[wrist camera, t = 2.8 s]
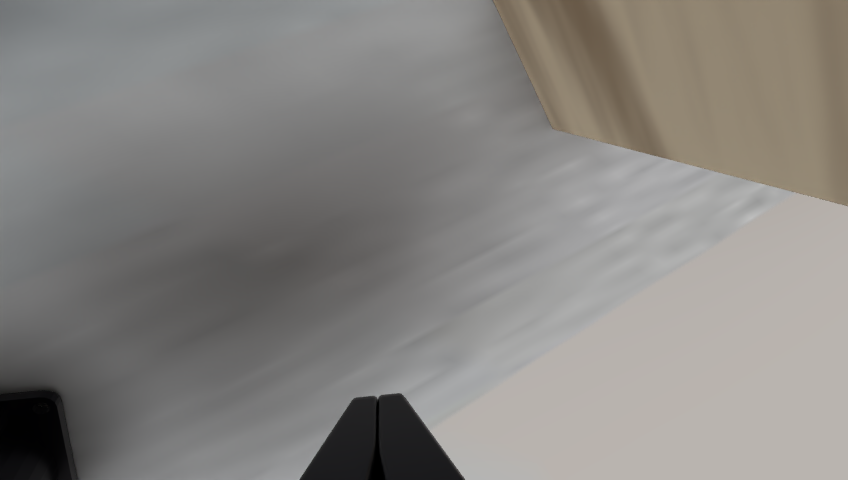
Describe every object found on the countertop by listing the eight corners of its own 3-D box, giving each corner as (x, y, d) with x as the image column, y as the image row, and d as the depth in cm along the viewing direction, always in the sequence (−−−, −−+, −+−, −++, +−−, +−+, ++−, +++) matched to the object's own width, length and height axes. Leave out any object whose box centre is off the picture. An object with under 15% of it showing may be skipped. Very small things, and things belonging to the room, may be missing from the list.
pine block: (553, 128, 20) (1003, 246, 8) (490, -6, 18) (1026, -146, 5) (662, 48, 21) (1267, 40, 8) (617, -97, 18) (1424, -441, 5)
